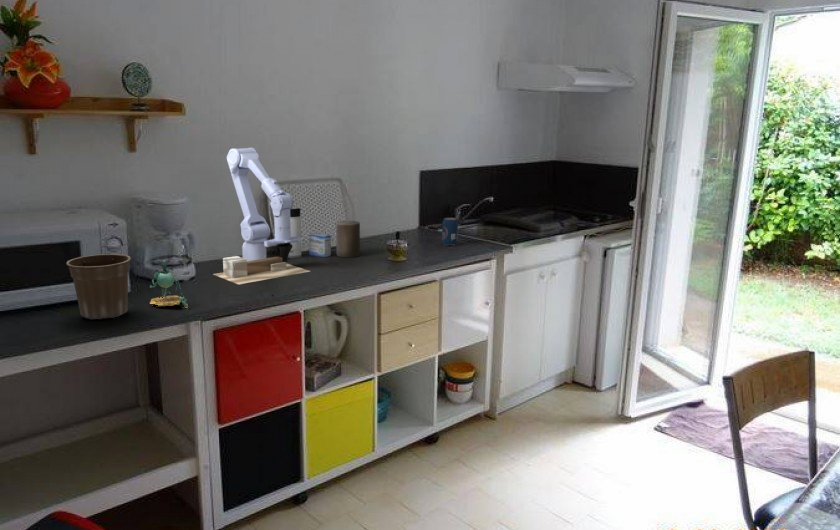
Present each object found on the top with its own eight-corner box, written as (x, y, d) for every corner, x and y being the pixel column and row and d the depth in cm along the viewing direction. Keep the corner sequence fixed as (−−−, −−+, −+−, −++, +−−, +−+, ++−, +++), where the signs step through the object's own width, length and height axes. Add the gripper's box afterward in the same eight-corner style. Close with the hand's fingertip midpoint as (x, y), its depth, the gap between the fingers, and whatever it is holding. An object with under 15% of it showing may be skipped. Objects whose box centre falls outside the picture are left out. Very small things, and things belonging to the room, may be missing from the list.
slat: (239, 273, 235) (238, 262, 234) (278, 266, 246) (277, 256, 245) (243, 275, 233) (243, 264, 232) (282, 268, 244) (282, 257, 243)
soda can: (439, 243, 300) (439, 217, 298) (452, 242, 303) (453, 216, 301) (446, 246, 294) (446, 220, 292) (459, 245, 297) (460, 219, 295)
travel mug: (293, 259, 264) (292, 209, 259) (282, 257, 267) (281, 207, 263) (305, 256, 268) (304, 207, 264) (294, 254, 272) (293, 206, 268)
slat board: (212, 276, 234) (211, 257, 232) (283, 265, 254) (283, 247, 252) (238, 287, 222) (237, 266, 220) (310, 273, 241) (310, 255, 240)
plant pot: (59, 321, 183) (52, 264, 179) (94, 305, 199) (89, 252, 195) (114, 325, 181) (109, 267, 177) (145, 308, 197) (141, 255, 193)
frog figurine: (165, 315, 191) (159, 264, 189) (141, 307, 204) (135, 260, 202) (197, 308, 198) (191, 259, 195) (171, 301, 211) (166, 255, 208)
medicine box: (308, 255, 272) (308, 234, 270) (315, 253, 276) (315, 232, 274) (324, 257, 268) (324, 236, 266) (331, 255, 272) (331, 234, 270)
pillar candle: (362, 257, 271) (363, 220, 267) (339, 258, 267) (339, 221, 264) (356, 252, 279) (356, 216, 276) (333, 253, 276) (333, 217, 272)
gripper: (271, 231, 235) (272, 268, 238) (305, 226, 245) (306, 262, 248) (260, 228, 240) (261, 264, 243) (294, 224, 250) (295, 259, 253)
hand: (283, 263), depth 246 cm, fingers closed
